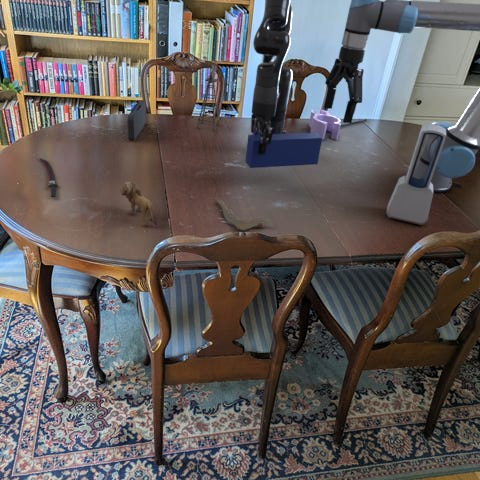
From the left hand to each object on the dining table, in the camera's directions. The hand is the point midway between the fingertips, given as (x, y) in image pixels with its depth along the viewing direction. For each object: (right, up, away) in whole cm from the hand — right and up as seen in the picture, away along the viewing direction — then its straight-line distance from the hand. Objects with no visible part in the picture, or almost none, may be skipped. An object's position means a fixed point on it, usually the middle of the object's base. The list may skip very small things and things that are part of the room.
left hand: (258, 150), depth 153 cm
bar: (+8, -3, +5) cm, 10 cm away
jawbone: (-6, -22, -11) cm, 25 cm away
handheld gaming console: (-49, +15, +39) cm, 65 cm away
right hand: (+26, +12, +1) cm, 29 cm away
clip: (+31, +20, +60) cm, 71 cm away
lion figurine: (-36, -23, -17) cm, 46 cm away
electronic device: (+47, -22, -3) cm, 52 cm away
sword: (-69, -9, -2) cm, 69 cm away
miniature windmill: (-20, +20, +52) cm, 59 cm away
